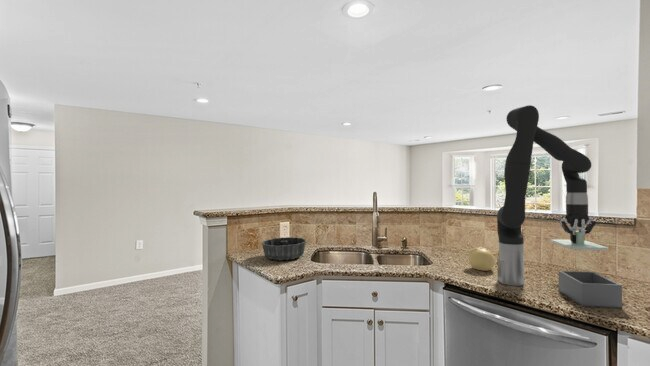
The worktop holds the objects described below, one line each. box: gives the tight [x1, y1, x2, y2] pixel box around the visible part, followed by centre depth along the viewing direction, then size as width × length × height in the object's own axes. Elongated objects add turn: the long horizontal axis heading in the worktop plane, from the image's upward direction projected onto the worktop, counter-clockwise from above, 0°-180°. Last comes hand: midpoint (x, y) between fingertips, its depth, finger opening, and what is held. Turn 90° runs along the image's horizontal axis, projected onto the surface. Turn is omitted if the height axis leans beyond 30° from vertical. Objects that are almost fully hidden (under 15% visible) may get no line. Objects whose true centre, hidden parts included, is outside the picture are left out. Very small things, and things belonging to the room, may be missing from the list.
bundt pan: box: [261, 236, 307, 261], centre depth 192 cm, size 26×26×10 cm
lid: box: [549, 230, 610, 252], centre depth 138 cm, size 13×17×7 cm
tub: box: [558, 270, 623, 309], centre depth 119 cm, size 12×16×8 cm
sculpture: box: [467, 246, 496, 272], centre depth 160 cm, size 12×12×11 cm
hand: (577, 243), depth 138 cm, fingers closed on lid
